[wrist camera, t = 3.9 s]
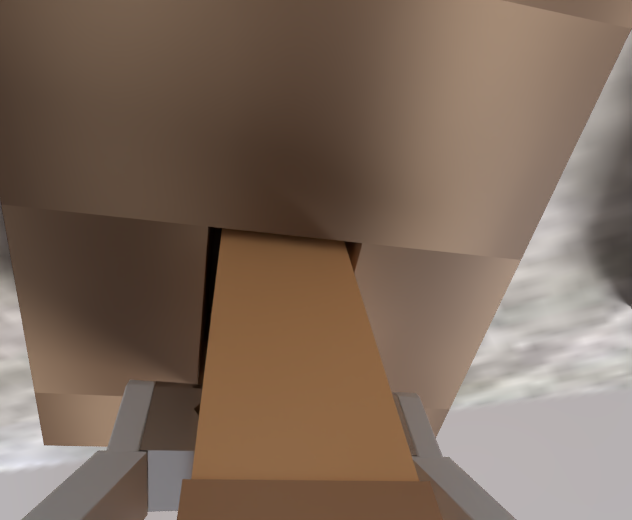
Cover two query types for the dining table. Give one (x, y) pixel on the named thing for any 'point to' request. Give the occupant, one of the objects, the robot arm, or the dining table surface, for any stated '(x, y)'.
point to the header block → (278, 170)
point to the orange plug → (296, 395)
